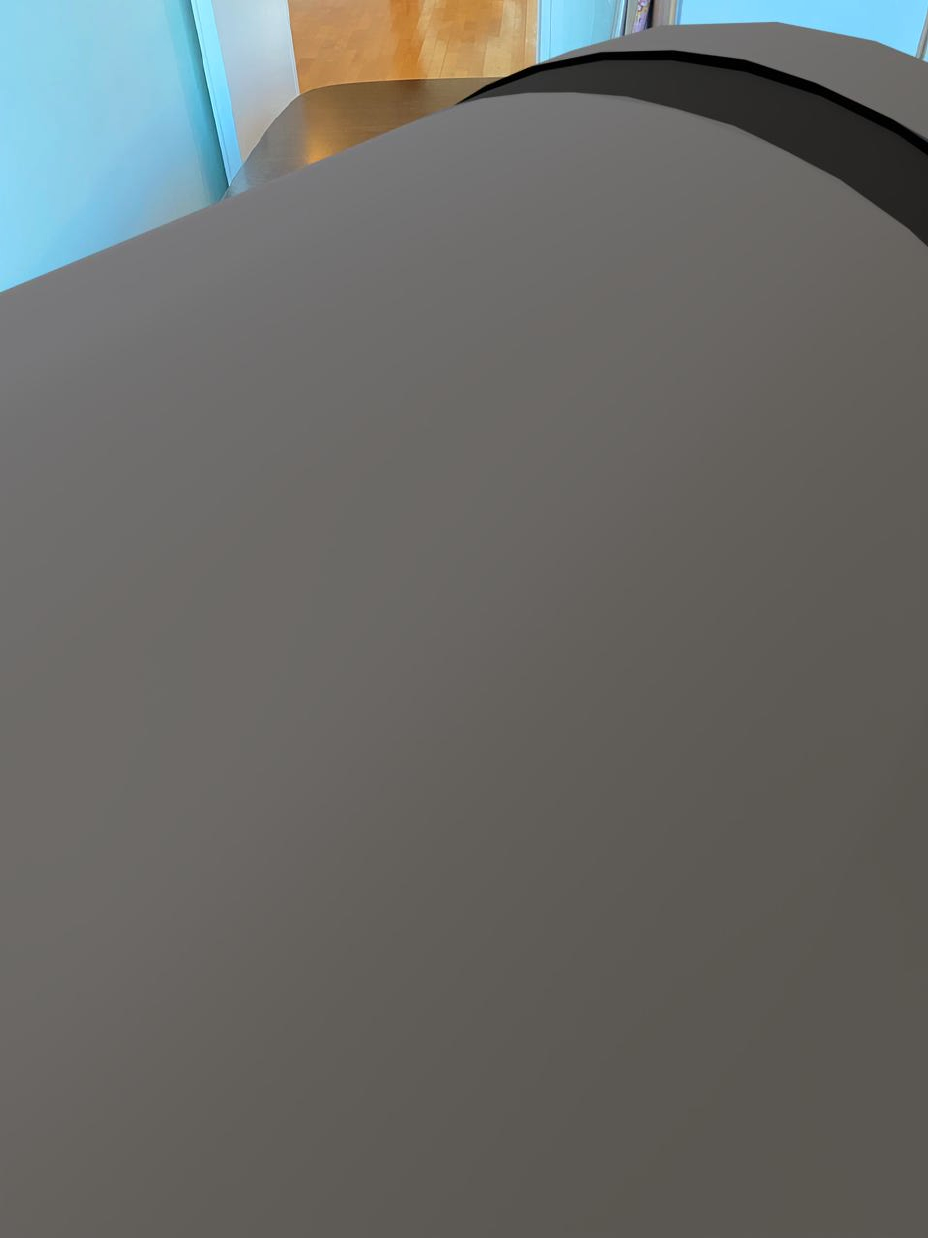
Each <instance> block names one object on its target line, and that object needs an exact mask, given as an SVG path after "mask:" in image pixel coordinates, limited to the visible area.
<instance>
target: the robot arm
mask: <svg viewBox="0 0 928 1238" xmlns="http://www.w3.org/2000/svg"><path fill="white" fill-rule="evenodd" d="M0 1238H928V61H926V60H924V59H922V58H918V57H916V56H913V55H912V54H909V53H906V52H905V51H901V50H899V49H896V48H894V47H892V46H889V45H886V44H885V43H881V42H880V41H877V40H872V39H867V38H863V37H857V36H853V35H847V34H843V33H837V32H831V31H826V30H821V29H816V28H810V27H806V26H802V25H801V26H800V25H796V24H790V23H785V22H780V21H779V22H778V21H760V22H759V21H758V22H724V23H722V22H721V23H720V22H719V23H690V24H689V23H686V24H685V23H684V24H660V25H657V26H656V25H655V26H653V27H650V28H646V29H642V30H639V31H635V32H632V33H629V34H624V35H621V36H618V37H613V38H610V39H608V40H604V41H600V42H597V43H593V44H590V45H586V46H583V47H579V48H576V49H575V48H574V49H572V50H569V51H567V52H564V53H561V54H559V55H556V56H554V57H551V58H548V59H545V60H543V61H540V62H538V63H535V64H533V65H530V66H528V67H525V68H523V69H521V70H518V71H516V72H514V73H511V74H509V75H507V76H504V77H501V78H500V79H497V80H495V81H492V82H490V83H487V84H486V85H484V86H482V87H480V88H479V89H477V90H476V91H475V92H473V93H470V94H469V95H468V96H466V97H464V98H463V99H461V100H459V101H458V102H456V103H455V104H453V105H451V106H445V107H443V108H441V109H439V110H436V111H434V112H432V113H430V114H427V115H425V116H423V117H419V118H418V119H416V120H413V121H411V122H409V123H406V124H403V125H402V126H399V127H396V128H394V129H392V130H389V131H387V132H384V133H381V134H380V135H376V136H374V137H372V138H370V139H367V140H365V141H362V142H360V143H357V144H355V145H353V146H351V147H348V148H346V149H343V150H341V151H339V152H336V153H333V154H331V155H329V156H326V157H323V158H321V159H319V160H316V161H314V162H312V163H309V164H307V165H305V166H304V165H303V166H302V167H300V168H297V169H295V170H293V171H290V172H288V173H285V174H283V175H280V176H278V177H276V178H273V179H270V180H268V181H266V182H263V183H261V184H259V185H255V186H253V187H251V188H249V189H246V190H244V191H242V192H240V193H237V194H234V195H232V196H230V197H227V198H225V199H222V200H220V201H217V202H215V203H213V204H209V205H208V206H206V207H203V208H200V209H198V210H196V211H193V212H191V213H189V214H185V215H184V216H181V217H179V218H177V219H173V220H172V221H169V222H166V223H164V224H162V225H160V226H157V227H154V228H152V229H150V230H148V231H145V232H143V233H140V234H138V235H136V236H133V237H131V238H128V239H126V240H123V241H121V242H118V243H116V244H114V245H110V246H109V247H106V248H104V249H101V250H99V251H97V252H95V253H92V254H89V255H87V256H85V257H82V258H79V259H77V260H74V261H73V262H70V263H68V264H65V265H63V266H60V267H57V268H55V269H53V270H51V271H48V272H45V273H43V274H41V275H39V276H36V277H34V278H31V279H28V280H26V281H24V282H21V283H19V284H17V285H14V286H11V287H9V288H7V289H5V290H3V291H0Z"/></svg>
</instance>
